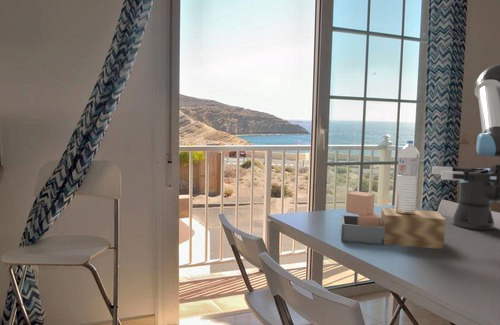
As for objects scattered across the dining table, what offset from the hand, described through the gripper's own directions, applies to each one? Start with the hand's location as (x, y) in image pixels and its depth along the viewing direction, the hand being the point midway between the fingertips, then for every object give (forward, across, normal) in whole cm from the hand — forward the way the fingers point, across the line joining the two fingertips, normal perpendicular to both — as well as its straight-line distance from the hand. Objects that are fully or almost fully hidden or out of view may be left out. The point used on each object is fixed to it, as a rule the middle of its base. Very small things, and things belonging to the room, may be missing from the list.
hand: (436, 172), depth 144 cm
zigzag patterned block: (+7, 0, -24) cm, 25 cm away
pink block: (+21, +1, -20) cm, 29 cm away
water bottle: (+9, 0, -15) cm, 17 cm away
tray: (+24, 0, -25) cm, 34 cm away
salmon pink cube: (+24, +4, -13) cm, 28 cm away
